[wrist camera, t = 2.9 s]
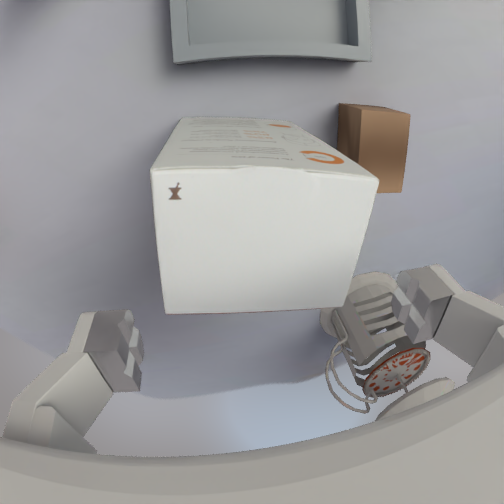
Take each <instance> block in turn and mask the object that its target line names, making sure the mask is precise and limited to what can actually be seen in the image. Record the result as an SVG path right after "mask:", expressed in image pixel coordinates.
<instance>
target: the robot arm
mask: <svg viewBox="0 0 504 504" xmlns="http://www.w3.org/2000/svg"><path fill="white" fill-rule="evenodd" d="M396 283H397V285H398V288H397V289H396V290H395V291H394V293H393V296H392V300H391V304H392V311H393V314H394V316H395V317H396V319H397V320H398V321H399V322H401V323H403V324H404V331H405V333H406V334H407V336H408V337H409V339H410V340H411V342H412V343H413V344H416V343H419V342H423V341H426V340H429V339H432V338H434V339H433V340H435V341H436V342H438V343H439V344H440V345H442V346H443V347H445V348H446V349H448V350H449V351H451V352H452V353H454V354H455V355H456V356H458V357H459V358H461V359H462V360H464V361H465V362H466V363H468V364H469V365H471V366H472V367H474V368H473V369H472V371H471V372H470V373H469V375H468V377H467V381H468V383H466V384H464V385H462V386H460V387H458V388H456V389H454V390H452V391H450V392H448V393H446V394H443V395H441V396H439V397H437V398H434V399H432V400H430V401H428V402H425V403H423V404H420V405H418V406H415V407H413V408H410V409H408V410H405V411H403V412H400V413H397V414H395V415H392V416H389V417H386V418H383V419H381V420H378V421H375V422H372V423H369V424H365V425H362V426H359V427H355V428H352V429H349V430H345V431H342V432H338V433H334V434H330V435H326V436H323V437H318V438H314V439H310V440H305V441H301V442H296V443H291V444H286V445H281V446H275V447H269V448H263V449H256V450H249V451H242V452H233V453H224V454H213V455H199V456H179V457H133V456H114V455H100V454H97V450H96V449H95V448H94V447H93V446H92V445H91V444H90V443H89V442H88V441H86V440H85V439H84V438H83V437H84V436H85V434H86V433H87V431H88V430H89V428H90V427H91V425H92V424H93V423H94V421H95V420H96V418H97V417H98V415H99V414H100V412H101V411H102V410H103V408H104V407H105V405H106V404H107V403H108V401H109V400H110V398H111V397H112V395H113V392H133V391H140V384H141V375H142V372H141V370H140V368H139V365H140V364H141V363H142V361H143V357H144V348H143V341H142V337H141V334H140V331H139V330H138V329H137V328H135V327H134V320H135V319H134V317H133V314H132V312H131V311H130V310H128V309H124V310H108V311H97V312H96V311H95V312H83V313H82V314H81V315H80V316H79V319H78V322H77V324H76V327H75V330H74V333H73V336H72V338H71V341H70V344H69V347H68V350H67V353H62V354H61V355H60V356H59V357H57V358H56V359H55V360H54V361H53V362H52V363H51V364H50V365H49V366H48V367H47V368H46V369H45V370H44V371H43V372H42V373H41V374H39V375H38V376H37V377H36V378H35V379H34V380H33V381H32V382H31V383H30V384H29V385H28V386H27V387H26V388H25V389H24V390H23V391H22V392H21V393H20V394H19V395H18V396H17V397H16V398H15V399H14V400H13V402H12V405H11V408H10V411H9V415H8V418H7V422H6V425H5V429H4V432H3V436H2V437H0V504H504V307H503V306H501V305H499V304H497V303H495V302H493V301H490V300H488V299H486V298H484V297H482V296H480V295H477V294H475V293H473V292H471V291H465V290H464V289H463V288H462V287H461V286H460V285H459V283H458V282H457V281H456V280H455V279H454V278H453V277H452V276H451V275H450V274H449V273H448V272H447V271H446V270H445V269H444V268H443V267H442V266H441V265H439V264H433V265H428V266H425V267H420V268H416V269H411V270H406V271H401V272H400V273H399V275H398V277H397V281H396Z"/></svg>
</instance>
